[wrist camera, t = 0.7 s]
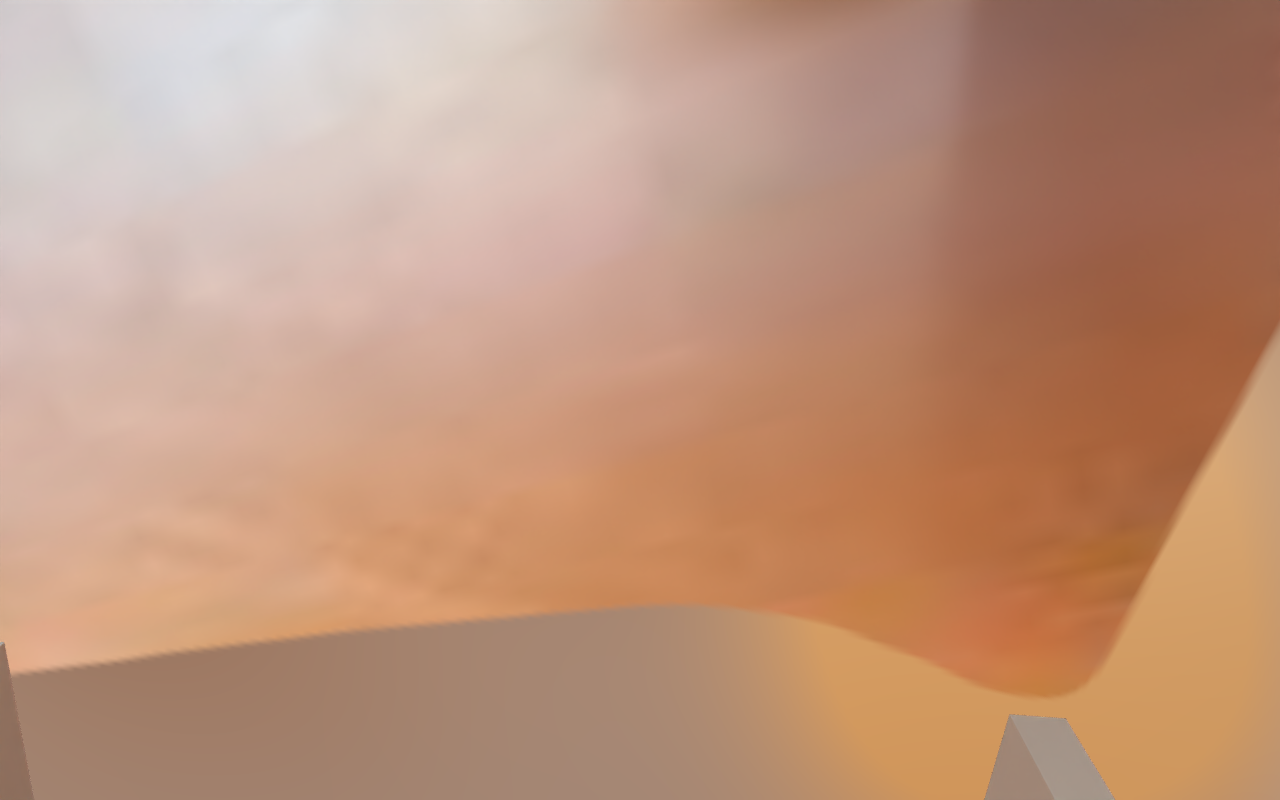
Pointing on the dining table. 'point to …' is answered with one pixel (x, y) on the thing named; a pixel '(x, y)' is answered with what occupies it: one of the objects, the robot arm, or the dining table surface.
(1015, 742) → the robot arm
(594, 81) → the dining table surface
